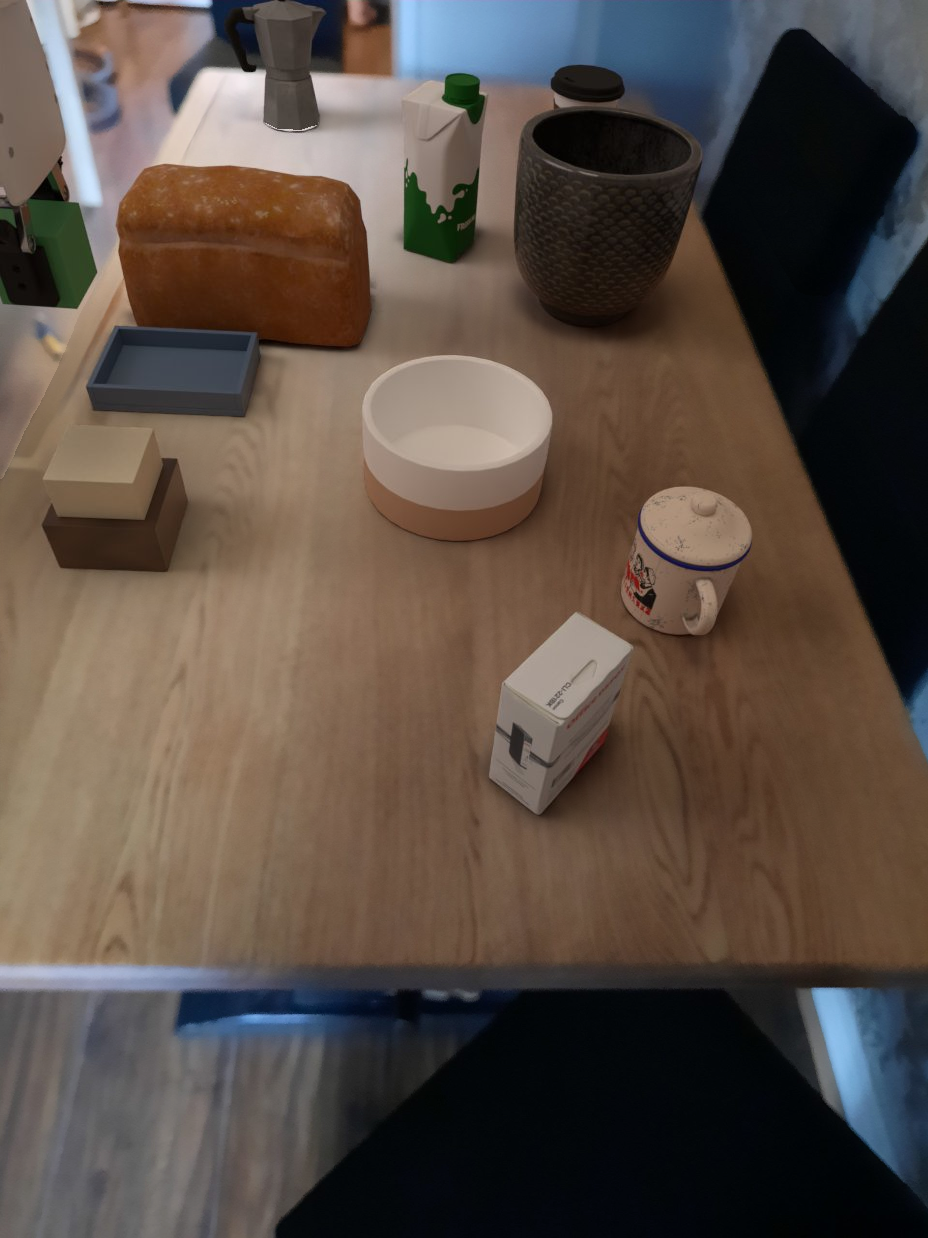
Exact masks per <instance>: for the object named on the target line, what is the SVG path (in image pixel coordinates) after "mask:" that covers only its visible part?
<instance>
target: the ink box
mask: <svg viewBox="0 0 928 1238" xmlns="http://www.w3.org/2000/svg"><path fill="white" fill-rule="evenodd" d="M633 652H634V646H633V644H631V643H630V642H628V641H626V640H625V639H623V638H621V637H619V636H618V635H617V634H615V633H613V632H611V630H608V629H607V628H605V627H604V626H602V625H600V624H599V623H597V622H595V621H594V620H592V619H591V618H590V617H587V616H586V615H584V614H582V613H581V612H579V611H575V612H574V613H573V614H572V615H571V616H570V617H568V619H566V621H565V622H564V623H563V624H562V625H561V626H559V627H558V629H556V630H555V631H554V633H552V634H551V635H550V636H549V637H548V638H546V640H545V641H544V642H543V643H542V644H541V645H540V646H539V647H538V648H537V649H536V650H535V651H534V652H533V653H532V654H530V655H529V656H528V657H527V658H526V659H525V660H524V661H523V662H522V663H521V664H520V665H519V666H518V667H517V668H516V669H515V670H514V671H513V672H512V673H511V674H510V675H509V676H507V678H505V680H503V681H502V683H501V688H500V689H501V690H500V694H499V695H500V696H499V703H498V709H497V716H496V723H495V731H494V737H493V738H494V739H493V745H492V752H491V760H490V767H489V773H488V778H489V779H490V780H491V781H493V782H494V783H495V784H497V786H499V787H500V788H502V789H503V790H505V791H506V792H507V793H508V794H510V795H511V796H512V797H513V798H514V799H516V800H517V801H518V802H520V804H522V805H524V806H525V807H526V808H527V809H529V810H530V811H531V812H533V814H534V815H538V816H539V815H541V814H543V812H544V811H545V810H546V809H547V808H548V806H550V804H552V802H553V801H554V800H555V799H556V798H557V796H558V795H559V794H560V793H561V792H562V791H563V790H564V788H566V786H568V784H569V783H570V782H571V780H572V779H573V778H574V777H575V776H576V775H577V774H578V773H579V771H580V770H581V769H582V768H583V767H584V766H585V765H586V764H587V762H588V761H589V760H590V759H591V758H592V757H593V755H595V753H596V752H597V751H598V749H600V748H601V747H602V745H603V744H604V743H605V739H606V737H607V733H608V731H609V727H610V724H611V721H612V718H613V714H614V712H615V708H616V706H617V703H618V698H619V696H620V693H621V689H622V686H623V683H624V680H625V677H626V675H627V671H628V668H629V665H630V661H631V657H632V656H633Z"/></svg>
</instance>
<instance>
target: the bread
mask: <svg viewBox="0 0 928 1238" xmlns="http://www.w3.org/2000/svg"><path fill="white" fill-rule="evenodd" d="M362 213H363V212H362V205H361V199H360V198H359V196H358V194H357V193H356V192H355V191H354V190H353V188H352V187H351V186H350V185H349V183H347V182H344V181H342V180H339V179H335V178H330V177H327V176H322V175H303V174H302V175H301V174H298V175H297V174H292V173H285V172H281V171H274V170H268V169H263V168H257V167H249V166H240V165H239V166H238V165H230V164H229V165H227V164H226V165H210V166H209V165H208V166H205V165H204V166H194V165H183V164H173V163H161V164H156V165H152V166H149V167H145V168H143V169H142V171H141V172H140V173H139V174H138V176H137V177H136V179H135V180H134V182H133V183H132V185H131V186H130V187H129V189H128V191H127V192H126V193H125V195H124V196H123V197H122V198H121V200H120V202H119V203H118V210H117V215H116V222H115V228H116V231H117V236H118V238H119V243H118V249H117V252H118V257H119V263H120V267H121V272H122V276H123V281H124V285H125V291H126V295H127V299H128V303H129V305H130V309H131V312H132V314H133V317H134V321H135V324H136V326H137V327H157V328H177V329H197V330H216V331H236V332H256V333H258V340H267V341H269V340H271V341H276V342H282V343H283V342H284V343H289V344H299V345H310V346H311V345H312V346H326V347H327V346H328V347H352V346H355V345H358V344H360V343H361V341H362V338H363V337H364V334H365V332H366V331H367V327H368V324H369V319H370V317H371V313H372V303H371V302H372V301H371V273H370V260H369V258H370V257H369V243H368V232H367V229H366V225H365V222H364V219H363V214H362Z"/></svg>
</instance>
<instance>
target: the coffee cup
mask: <svg viewBox="0 0 928 1238" xmlns="http://www.w3.org/2000/svg"><path fill="white" fill-rule="evenodd" d="M550 90H552V91H553V92H554V98H553V109H558V108H563V107H571V106H607V107H617V105H618V102H619V100H620V99H622V97H623V96H624V95H625V91H626V88H625V84H624V80H623V77H622V76H621V75H620V74H619V73H617V72H615V71H614V70H611V69H610V68H609V69H608V68H606V67H601V66H597V65H591V64H568V65H565V66H562V67H560V68H558V69H557V70H556V71H555V72H554V75H553V76H552V77H551V78H550Z"/></svg>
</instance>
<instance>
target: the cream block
mask: <svg viewBox="0 0 928 1238" xmlns="http://www.w3.org/2000/svg"><path fill="white" fill-rule="evenodd" d="M162 458H163V457H162V455H161V452H160V448H159V443H158V440H157V437H156V432H155V429H154V428H153V427H139V426H138V427H137V426H135V427H134V426H117V425H116V426H115V425H114V426H113V425H93V424H70V423H69V424H67V427H66V429H65V431H64V432H63V435H62V437H61V439H60V441H59V443H58V445H57V448H56V450H55V452H54V454H53V456H52V458H51V460H50V462H49V464H48V466H47V469H46V470H45V473H44V475H43V477H42V482H43V484H44V487H45V489H46V492H47V494H48V496H49V499H50V501H51V503H52V504H53V506H54V509H55V511H56V514H57V516H58V517H80V518H105V519H131V520H145V517H146V514H147V511H148V508H149V505H150V502H151V499H152V497H153V494H154V491H155V488H156V485H157V482H158V479H159V476H160V473H161V470H162V467H163V462H162Z"/></svg>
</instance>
